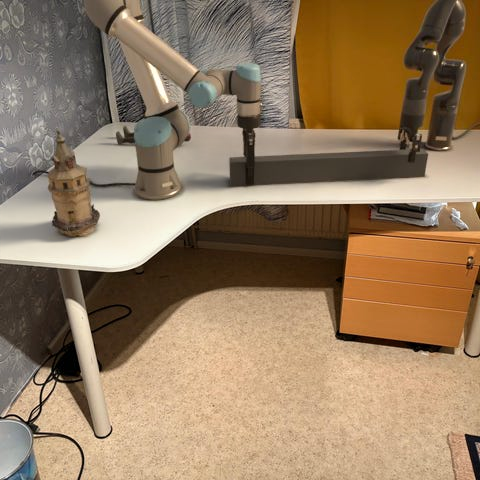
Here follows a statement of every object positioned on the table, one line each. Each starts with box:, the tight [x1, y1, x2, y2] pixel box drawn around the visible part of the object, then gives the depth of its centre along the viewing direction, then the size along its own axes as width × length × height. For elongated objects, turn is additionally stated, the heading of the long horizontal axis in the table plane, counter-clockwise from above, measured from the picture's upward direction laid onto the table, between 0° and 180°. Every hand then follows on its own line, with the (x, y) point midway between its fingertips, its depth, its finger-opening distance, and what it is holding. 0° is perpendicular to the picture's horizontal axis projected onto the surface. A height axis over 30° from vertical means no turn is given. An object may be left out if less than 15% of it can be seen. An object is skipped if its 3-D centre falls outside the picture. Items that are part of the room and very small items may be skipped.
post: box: [228, 148, 429, 187], centre depth 183 cm, size 68×5×8 cm, turn 95°
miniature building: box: [46, 129, 101, 237], centre depth 148 cm, size 13×14×30 cm
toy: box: [115, 125, 192, 145], centre depth 218 cm, size 26×6×30 cm
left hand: (249, 180), depth 183 cm, fingers closed on post, 5 cm apart
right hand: (406, 158), depth 184 cm, fingers open, 8 cm apart
